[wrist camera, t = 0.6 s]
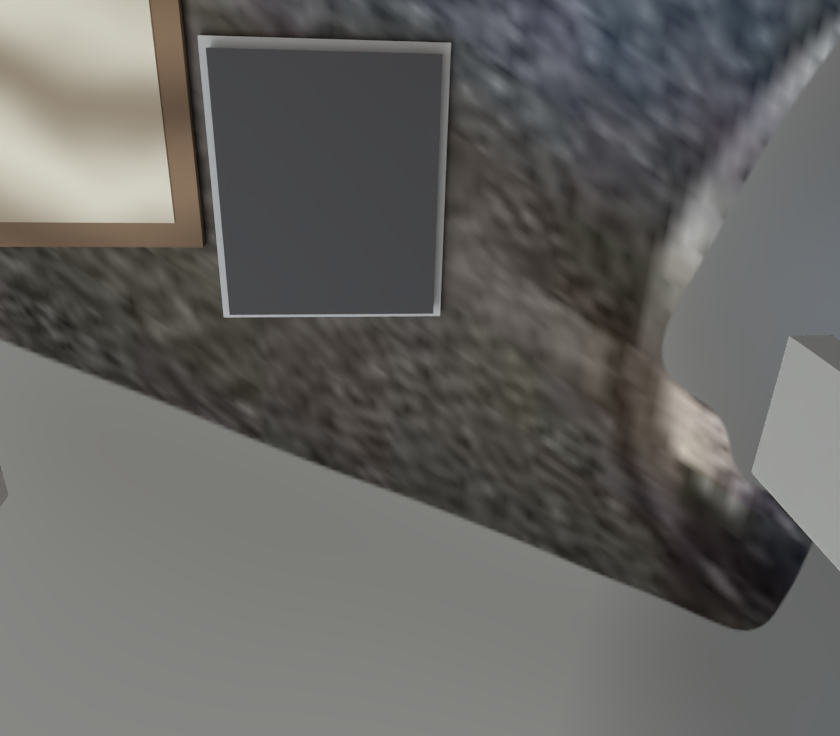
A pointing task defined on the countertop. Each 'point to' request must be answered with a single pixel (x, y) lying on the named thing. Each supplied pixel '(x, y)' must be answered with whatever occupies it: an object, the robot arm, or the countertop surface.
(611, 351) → the countertop surface
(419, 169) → the ink pad
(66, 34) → the box board
